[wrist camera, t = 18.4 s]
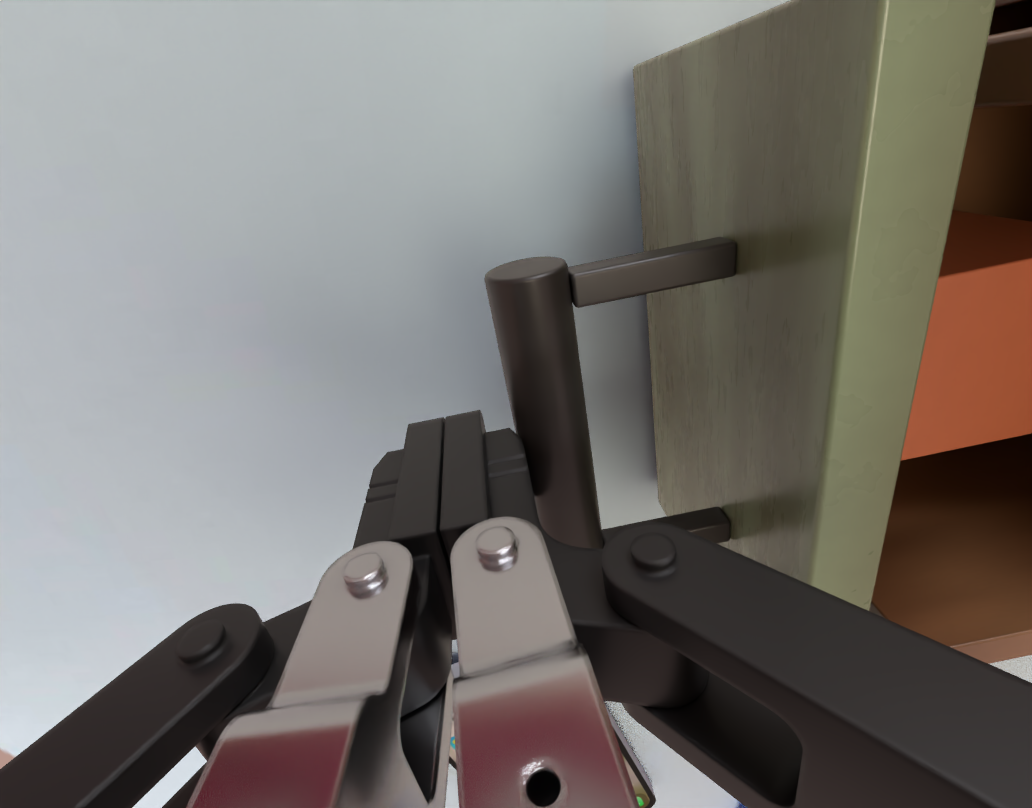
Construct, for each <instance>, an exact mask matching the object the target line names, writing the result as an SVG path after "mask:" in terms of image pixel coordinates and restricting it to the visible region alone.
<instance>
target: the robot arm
mask: <svg viewBox="0 0 1032 808" xmlns="http://www.w3.org/2000/svg"><path fill="white" fill-rule="evenodd" d="M369 487H370V489H368V492H367V496H366V503H364V507H363V511H362V515H361V519H360V523H359V526H358V530H357V534H356V538H355V542H354V546H353V549H352V550H351V551H349V552H347V553H345V554H344V555H342V556H341V557H340V558H338V559H337V560H336V561H335V562H334V563H333V564H332V565H331V566H330V567H329V568H328V569H327V570H326V572H325V573H324V575H323V576H322V578H321V580H320V582H319V585H318V587H317V589H316V592H315V594H314V597H313V599H312V600H311V601H309V602H307V603H305V604H303V605H301V606H299V607H296V608H294V609H292V610H290V611H287V612H285V613H283V614H281V615H279V616H276V617H274V618H272V619H270V620H267V621H265V622H262V620H261V619H260V617H259V615H258V613H257V612H256V610H255V609H253V608H252V607H251V606H248V605H246V604H227V605H222V606H219V607H215V608H213V609H210V610H208V611H206V612H204V613H202V614H200V615H198V616H196V617H194V618H193V619H191V620H189V621H188V622H187V623H185V624H184V625H182V626H181V627H180V628H178V629H177V630H176V631H175V632H173V633H172V634H171V635H170V636H168V637H167V638H166V639H164V640H163V641H162V642H161V643H159V644H158V645H157V646H156V647H154V648H153V649H152V650H151V651H149V652H148V653H147V654H146V655H144V656H143V657H142V658H140V659H139V660H138V661H137V662H135V663H134V664H133V665H132V666H130V667H129V668H128V669H127V670H125V671H124V672H123V673H121V674H120V675H119V676H118V677H116V678H115V679H114V680H113V681H111V682H110V683H109V684H108V685H106V686H105V687H104V688H102V689H101V690H100V691H99V692H97V693H96V694H95V695H94V696H92V697H91V698H90V699H89V700H87V701H86V702H85V703H83V704H82V705H81V706H80V707H78V708H77V709H76V710H75V711H73V712H72V713H71V714H70V715H68V716H67V717H66V718H64V719H63V720H62V721H61V722H59V723H58V724H57V725H56V726H54V727H53V728H52V729H51V730H49V731H48V732H47V733H46V734H44V735H43V736H42V737H40V738H39V739H38V740H37V741H35V742H34V743H33V744H32V745H30V746H29V747H28V748H27V749H25V750H24V751H23V752H21V753H20V754H19V755H18V756H16V757H15V758H14V759H13V760H11V761H10V762H9V763H8V764H6V765H5V766H4V767H3V768H2V769H0V808H132V807H133V806H134V805H135V804H136V803H137V802H138V801H139V800H140V799H141V798H142V797H143V796H144V795H145V794H146V793H147V792H148V791H150V790H151V789H152V788H153V787H154V786H155V785H156V784H157V783H158V782H159V781H160V780H161V779H162V778H163V777H164V776H165V775H166V774H167V773H168V772H169V771H170V770H171V769H172V768H173V767H174V766H175V765H176V764H177V763H178V762H179V761H180V760H181V759H182V758H183V757H184V756H185V755H186V754H187V753H189V752H190V751H191V750H192V749H193V748H194V747H195V746H196V748H197V749H198V750H199V751H200V753H201V754H202V755H203V756H204V758H205V759H206V760H207V762H206V763H205V764H204V765H203V766H202V767H201V768H200V769H199V770H198V771H197V772H196V773H195V774H194V776H193V777H192V778H191V779H190V780H189V781H188V782H187V783H186V784H185V785H184V786H183V787H182V788H181V789H180V790H179V791H178V792H177V793H176V794H175V795H174V796H173V797H172V798H171V799H170V800H169V801H168V802H167V803H166V804H165V805H164V806H163V807H162V808H445V801H446V789H447V777H448V765H449V754H450V742H451V730H452V718H453V720H454V736H455V751H456V766H457V781H458V796H459V808H640V806H639V803H638V800H637V797H636V794H635V791H634V788H633V785H632V782H631V779H630V777H629V774H628V771H627V768H626V765H625V762H624V759H623V756H622V753H621V750H620V747H619V744H618V741H617V738H616V735H615V733H614V730H613V727H612V724H611V721H610V718H609V715H608V712H607V709H606V706H605V703H604V700H605V701H612V702H620V703H622V705H623V706H624V708H625V710H626V711H627V712H628V713H629V715H630V716H631V717H632V718H634V719H635V720H636V721H637V722H638V723H640V724H641V725H642V726H643V727H645V728H646V729H647V730H648V731H650V732H651V733H652V734H654V735H655V736H656V737H657V738H659V739H660V740H661V741H663V742H664V743H665V744H666V745H668V746H669V747H670V748H672V749H673V750H674V751H675V752H677V753H678V754H679V755H680V756H682V757H683V758H684V759H686V760H687V761H688V762H689V763H691V764H692V765H693V766H695V767H696V768H697V769H698V770H700V771H701V772H702V773H704V774H705V775H706V776H707V777H709V778H710V779H711V780H712V781H714V782H715V783H716V784H718V785H719V786H720V787H721V788H723V789H724V790H725V791H727V792H728V793H729V794H730V795H732V796H733V797H734V798H736V799H737V800H738V801H739V802H741V803H742V804H743V805H744V806H746V807H747V808H1032V683H1030V682H1028V681H1026V680H1023V679H1021V678H1019V677H1017V676H1014V675H1012V674H1010V673H1008V672H1005V671H1003V670H1001V669H999V668H996V667H994V666H992V665H990V664H987V663H985V662H983V661H981V660H978V659H976V658H974V657H971V656H969V655H967V654H965V653H962V652H960V651H958V650H956V649H953V648H951V647H949V646H947V645H944V644H942V643H940V642H938V641H935V640H933V639H931V638H929V637H926V636H924V635H922V634H920V633H917V632H915V631H913V630H911V629H908V628H906V627H904V626H902V625H899V624H897V623H895V622H893V621H890V620H888V619H886V618H883V617H881V616H879V615H877V614H874V613H872V612H870V611H868V610H865V609H863V608H861V607H859V606H856V605H854V604H852V603H850V602H847V601H845V600H843V599H841V598H838V597H836V596H834V595H832V594H829V593H827V592H825V591H823V590H820V589H818V588H816V587H814V586H811V585H809V584H807V583H805V582H802V581H800V580H798V579H795V578H793V577H791V576H789V575H786V574H784V573H782V572H780V571H777V570H775V569H773V568H771V567H768V566H766V565H764V564H762V563H759V562H757V561H755V560H753V559H750V558H748V557H746V556H744V555H741V554H739V553H737V552H735V551H732V550H730V549H728V548H726V547H723V546H721V545H719V544H716V543H714V542H712V541H710V540H707V539H705V538H703V537H701V536H698V535H696V534H694V533H692V532H689V531H687V530H685V529H683V528H680V527H677V526H675V525H671V524H667V523H660V522H644V523H637V524H633V525H630V526H627V527H625V528H623V529H621V530H619V531H617V532H616V533H615V534H613V535H612V536H611V537H610V538H609V539H608V540H607V542H606V543H605V545H604V547H603V549H597V548H582V547H575V546H570V545H567V544H564V543H561V542H559V541H557V540H555V539H554V538H552V537H551V536H550V535H548V534H547V533H546V531H545V530H544V529H543V527H542V526H541V524H540V521H539V516H538V512H537V507H536V502H535V498H534V493H533V488H532V483H531V479H530V474H529V469H528V464H527V460H526V455H525V450H524V446H523V441H522V438H520V437H519V436H518V435H517V434H516V433H515V432H513V431H512V430H511V429H510V428H506V429H501V430H496V431H491V432H486V430H485V425H484V421H483V417H482V413H481V411H480V410H477V411H472V412H467V413H462V414H457V415H452V416H447V417H446V418H444V417H442V418H437V419H432V420H427V421H422V422H417V423H412V424H409V425H408V428H407V434H406V439H405V445H404V449H402V450H396V451H391V452H387V453H386V455H385V456H384V457H383V458H382V459H381V460H380V462H379V463H378V464H377V465H376V466H375V468H374V469H373V473H372V477H371V480H370V484H369ZM455 639H457V645H458V657H459V677H457V678H454V674H453V671H452V668H451V663H452V640H455Z"/></svg>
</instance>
